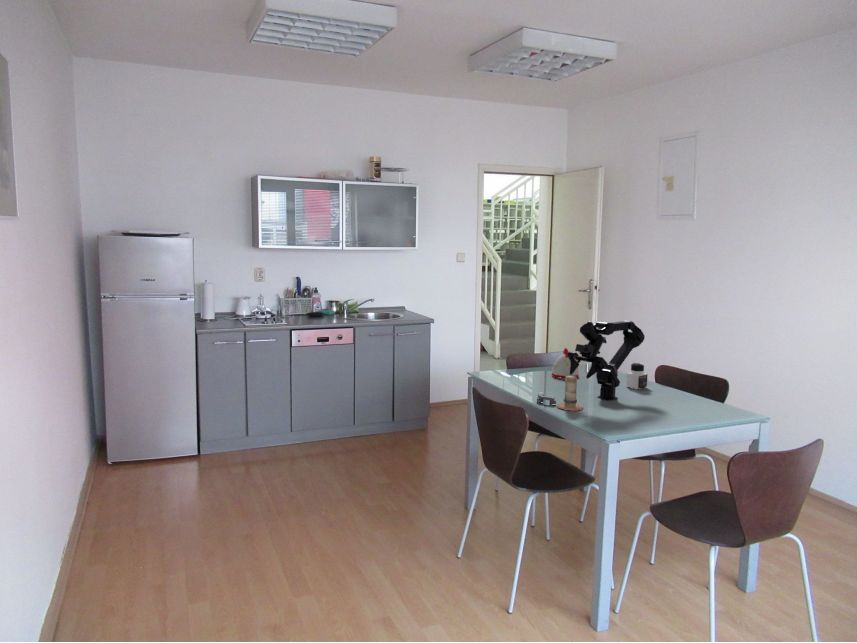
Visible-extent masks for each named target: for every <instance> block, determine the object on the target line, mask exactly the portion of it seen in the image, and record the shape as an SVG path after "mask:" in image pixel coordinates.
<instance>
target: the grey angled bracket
mask: <svg viewBox="0 0 857 643" xmlns="http://www.w3.org/2000/svg"><path fill="white" fill-rule="evenodd" d="M544 400H546V401H549V405H550V404H556V405H557V400H556V399H555V397H553V396H545V394H543V391H539V393H537V398H536V403H537V402H538V403H537V404H540V403H541V402H543V403H544ZM541 404H542V403H541Z"/></svg>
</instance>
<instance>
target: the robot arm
mask: <svg viewBox="0 0 857 643" xmlns="http://www.w3.org/2000/svg"><path fill="white" fill-rule="evenodd" d="M621 331H622V335H623V343H622V344H621V346H620V347H619V349H618V350H616V352H615V354H614V355H613V357H612V358H611V359H610V360H609V362H607V361H606V360H605V359H604V357H602V356H598V355H601V352H600V349H601V347H602V345H603V344H608V343H607V339H606V336H610V335H612V334H614V332H621ZM579 333H580V334H581V335H582V336H583V337H584V339H585V340H587V341H588V342H587V343H585V344H579V343H576V346H575V350H574V351H571V350H570V351H568V354H567V357H568V358H569V359H570V362H571V365H570V375H572V374H573V373H574V371H575V370H576V368H577V367H578V368H579V366H580V363H581V362H587V363H591V365H590V367H589V370H588V371H587V374H586V379H587V380H588V379H589V378H591V377H593V376H594V375H595V374H596V377H595V378H596V381H597V384H598V385H600V390H599V395H598V396H597V398H599V399H603V400H607V401H612V400H615V399H616V400H617V399H618V396H616V388H618V387H619V386H620V384H621V381H620V380H619V378H618V376H619V375H618V373H619V372H618V370H619V368H620V367H621V366H622V365H623V363H624V361H626V359H627V358H628V356H629V355H630V353H631V352H632V351H633V349H635V348H638V347H639V346H640V345H642V343H644V340H645V334H644V332H643V330H642V329H641V328H639V327H638V326H637V325H636V324H635V322H634V321H632V320H622V321H615V322H614V321H613V322H607V321H600V320H598V321H596V322H595V323H593V321H587V322H586V323H584V324H582V326H580V328H579ZM603 335H604V336H603ZM577 352H578V353H577Z"/></svg>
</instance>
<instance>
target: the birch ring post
mask: <svg viewBox="0 0 857 643" xmlns="http://www.w3.org/2000/svg"><path fill="white" fill-rule="evenodd" d="M564 381H565V382H564V384H565V386H564V398H563V403H565V407H568V408H574V407H576V404H578V399H577V386H578V384H577V383H578V378H577V377H576V376H566V377H565V379H564Z"/></svg>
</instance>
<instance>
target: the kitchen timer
mask: <svg viewBox="0 0 857 643" xmlns="http://www.w3.org/2000/svg"><path fill="white" fill-rule="evenodd" d="M568 352H569V349H568V348H566V347H564V349H563V351H562V353H563V354H560V355H559V357H558V358H557V359H556V360H555V361H554V362H553V364H552V367H551V368H552V369H551V376H552V375H553V376H555V377H561V378H565V377H566V376H576V377H579V366H578V367H577V368H576V370H575V371H574V373H573V374H572V375H570V365H571V362H570V359H569V358H568V357H567V354H568ZM553 376H552V377H553ZM555 377H554V378H555ZM561 378H560V379H561Z"/></svg>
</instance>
